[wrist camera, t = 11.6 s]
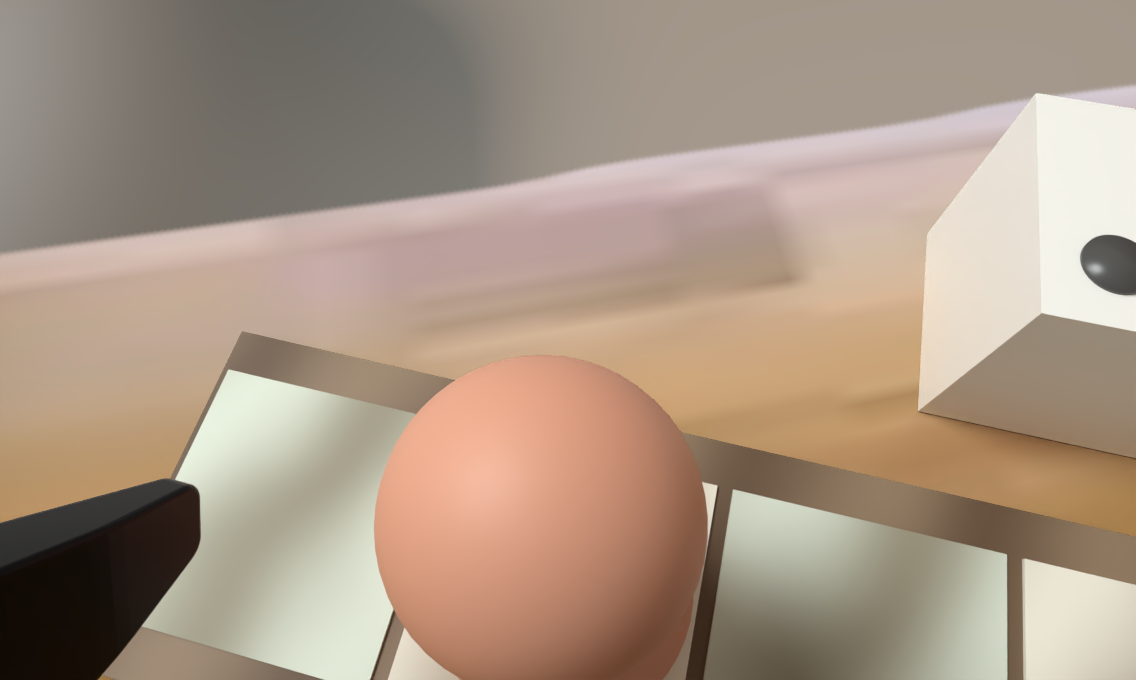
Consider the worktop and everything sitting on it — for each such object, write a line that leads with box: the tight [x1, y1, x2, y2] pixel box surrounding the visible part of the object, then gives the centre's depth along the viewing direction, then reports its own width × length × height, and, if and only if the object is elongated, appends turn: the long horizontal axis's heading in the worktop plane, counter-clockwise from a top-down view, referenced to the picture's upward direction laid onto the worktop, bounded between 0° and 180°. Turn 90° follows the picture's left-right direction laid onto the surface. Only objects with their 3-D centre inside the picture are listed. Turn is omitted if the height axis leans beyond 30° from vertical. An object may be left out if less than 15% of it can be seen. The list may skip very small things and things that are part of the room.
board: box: [102, 332, 1136, 680], centre depth 17 cm, size 28×9×1 cm, turn 76°
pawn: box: [374, 355, 708, 680], centre depth 12 cm, size 6×6×10 cm
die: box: [918, 93, 1136, 458], centre depth 18 cm, size 6×6×6 cm
